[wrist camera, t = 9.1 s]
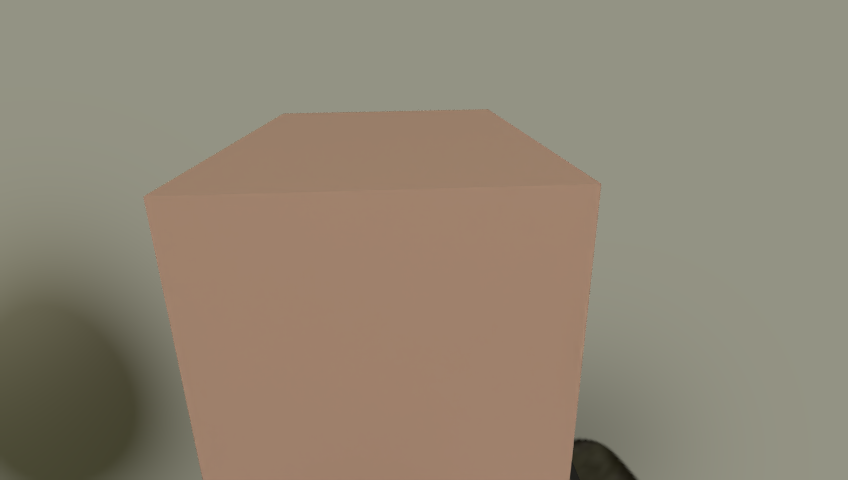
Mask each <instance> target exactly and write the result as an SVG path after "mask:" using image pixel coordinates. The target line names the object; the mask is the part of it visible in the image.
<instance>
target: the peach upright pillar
mask: <svg viewBox="0 0 848 480" xmlns="http://www.w3.org/2000/svg"><path fill="white" fill-rule="evenodd" d="M600 191H601V183H599V182H598V181H596V180H595V179H593V178H591V177H590V176H588V175H587V174H585V173H584V172H582V171H581V170H579V169H578V168H576V167H575V166H573V165H572V164H570V163H569V162H567V161H566V160H564V159H563V158H561V157H560V156H558V155H557V154H555V153H553V152H552V151H550V150H549V149H547V148H546V147H544V146H543V145H541V144H540V143H538V142H537V141H535V140H534V139H532V138H531V137H529V136H528V135H526V134H524V133H523V132H522V131H520V130H519V129H517V128H515V127H514V126H513V125H511V124H509V123H508V122H506V121H505V120H503V119H502V118H500V117H499V116H497V115H496V114H494V113H492V112H491V111H490V110H488V109H482V110H436V111H435V110H434V111H389V112H388V111H387V112H340V113H294V114H293V113H290V114H282V115H280V116H279V117H277V118H275V119H274V120H272V121H270V122H268V123H267V124H265V125H263V126H262V127H260V128H258V129H257V130H255V131H253V132H252V133H250V134H248V135H246V136H245V137H243V138H241V139H240V140H238V141H236V142H235V143H233V144H231V145H230V146H228V147H226V148H225V149H223V150H221V151H219V152H218V153H216V154H215V155H213V156H211V157H209V158H208V159H206V160H204V161H203V162H201V163H199V164H198V165H196V166H194V167H193V168H191V169H189V170H187V171H186V172H184V173H182V174H181V175H179V176H177V177H176V178H174V179H173V180H171V181H169V182H167V183H166V184H164V185H162V186H161V187H159V188H157V189H155V190H154V191H152V192H150V193H149V194H147V195H145V196H144V202H145V206H146V211H147V216H148V220H149V225H150V230H151V235H152V240H153V245H154V249H155V254H156V259H157V264H158V268H159V273H160V278H161V282H162V288H163V292H164V297H165V302H166V307H167V311H168V316H169V321H170V326H171V330H172V335H173V340H174V345H175V350H176V354H177V359H178V364H179V369H180V374H181V378H182V383H183V388H184V393H185V397H186V402H187V407H188V412H189V416H190V421H191V426H192V431H193V435H194V441H195V445H196V450H197V455H198V460H199V464H200V469H201V474H202V479H203V480H570V472H571V462H572V453H573V444H574V433H575V424H576V415H577V406H578V396H579V387H580V378H581V368H582V359H583V349H584V341H585V331H586V322H587V313H588V303H589V294H590V284H591V275H592V266H593V257H594V247H595V238H596V228H597V219H598V208H599V200H600Z"/></svg>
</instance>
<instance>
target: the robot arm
mask: <svg viewBox="0 0 848 480" xmlns="http://www.w3.org/2000/svg"><path fill="white" fill-rule="evenodd" d="M570 480H580V479H579V477H578V474H577V472H576V470H575V467H574V465H573V463H572V462H571V472H570Z"/></svg>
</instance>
